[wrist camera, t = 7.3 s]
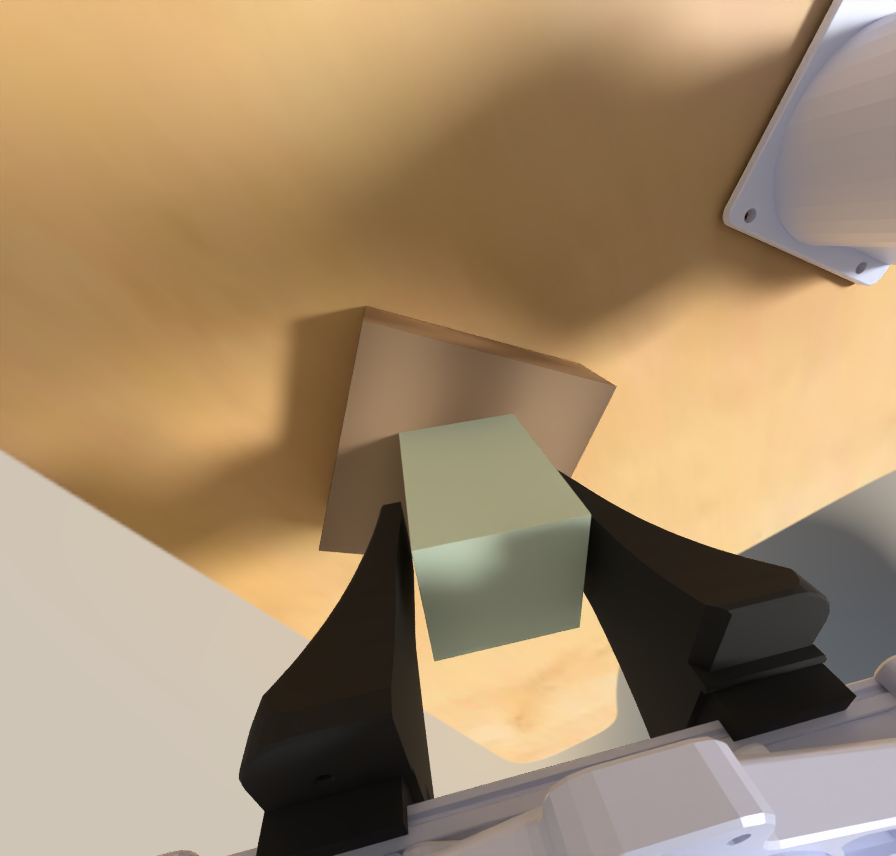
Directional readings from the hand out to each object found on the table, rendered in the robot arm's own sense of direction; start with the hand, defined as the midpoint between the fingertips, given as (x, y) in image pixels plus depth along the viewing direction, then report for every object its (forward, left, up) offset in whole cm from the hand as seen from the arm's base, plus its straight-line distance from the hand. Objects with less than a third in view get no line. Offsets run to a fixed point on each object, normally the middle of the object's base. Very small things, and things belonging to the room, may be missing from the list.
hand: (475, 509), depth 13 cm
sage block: (0, 0, -2) cm, 2 cm away
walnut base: (0, 0, -5) cm, 5 cm away
